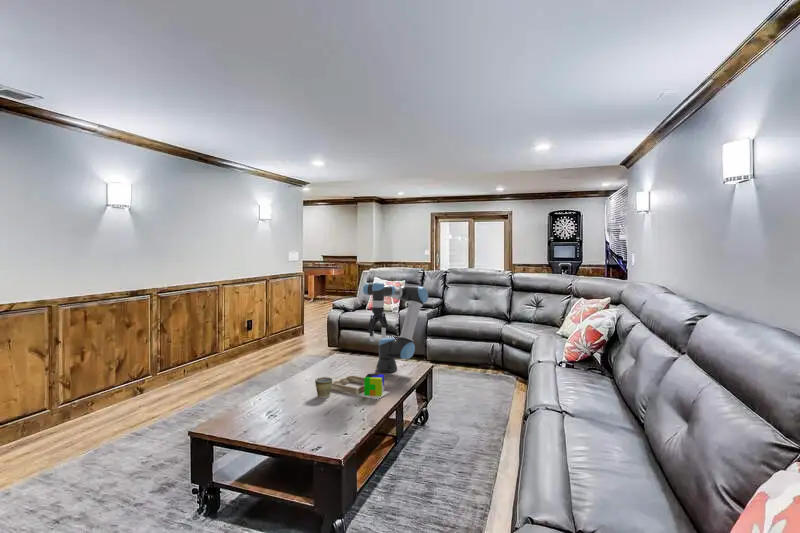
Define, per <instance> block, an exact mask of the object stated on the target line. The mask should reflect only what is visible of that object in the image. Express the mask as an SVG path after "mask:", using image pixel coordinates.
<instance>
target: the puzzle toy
mask: <svg viewBox="0 0 800 533" xmlns="http://www.w3.org/2000/svg"><path fill="white" fill-rule="evenodd" d="M363 385H364V395H368V396H381V395H382V394H383V392H384V391H385V374H380V373H367V375H366V376H365V377H364V384H363Z"/></svg>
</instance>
